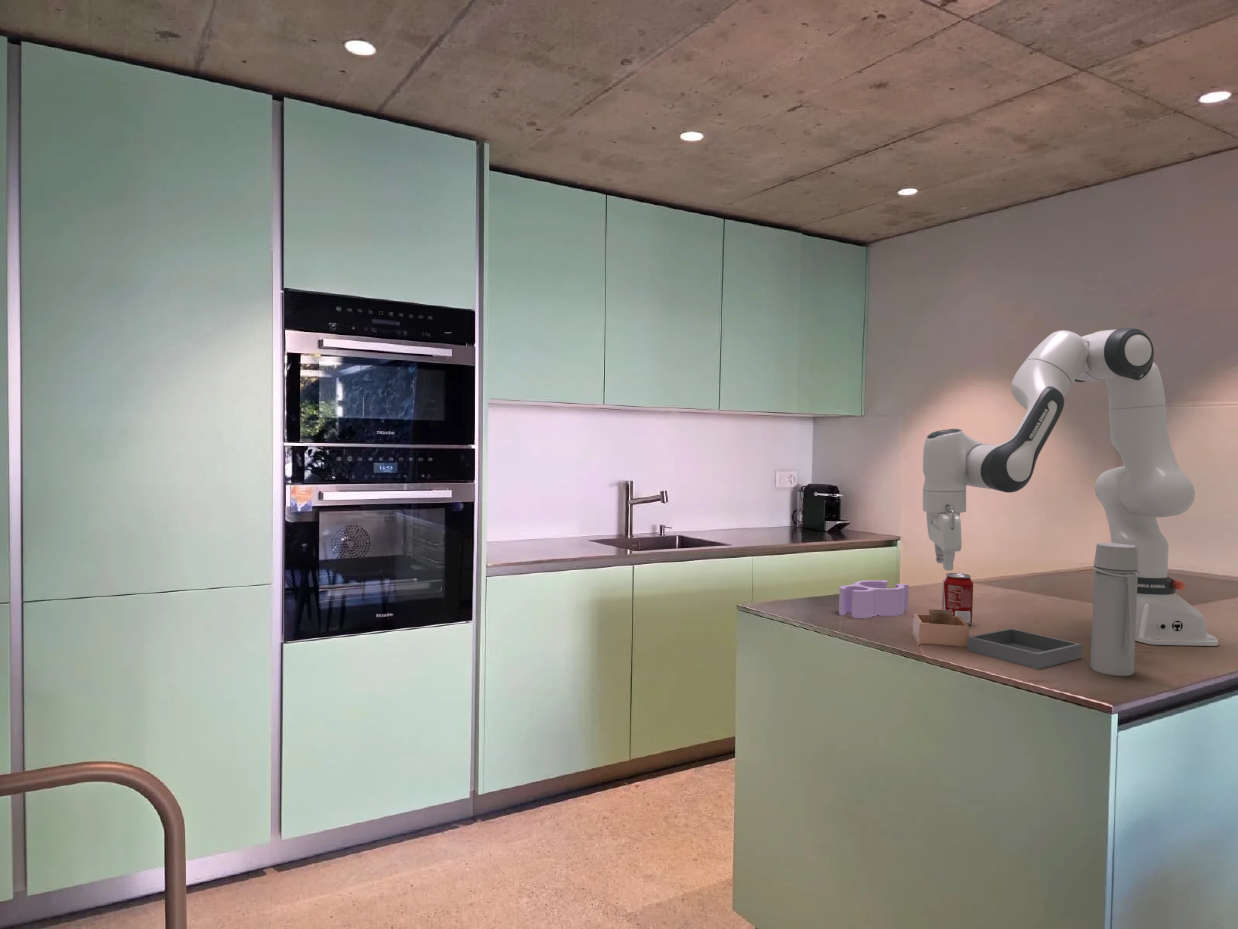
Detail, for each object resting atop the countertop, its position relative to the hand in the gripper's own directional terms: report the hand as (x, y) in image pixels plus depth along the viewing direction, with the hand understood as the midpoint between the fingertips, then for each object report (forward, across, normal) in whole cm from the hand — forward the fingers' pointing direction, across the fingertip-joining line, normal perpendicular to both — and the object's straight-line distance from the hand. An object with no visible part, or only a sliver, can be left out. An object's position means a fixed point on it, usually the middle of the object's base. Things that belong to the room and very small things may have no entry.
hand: (944, 566), depth 178 cm
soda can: (+17, +20, -6) cm, 27 cm away
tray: (+17, -8, -14) cm, 24 cm away
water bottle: (+18, -17, -28) cm, 37 cm away
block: (+16, 0, +1) cm, 16 cm away
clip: (+17, +28, +13) cm, 35 cm away
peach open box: (+17, 0, +1) cm, 17 cm away
